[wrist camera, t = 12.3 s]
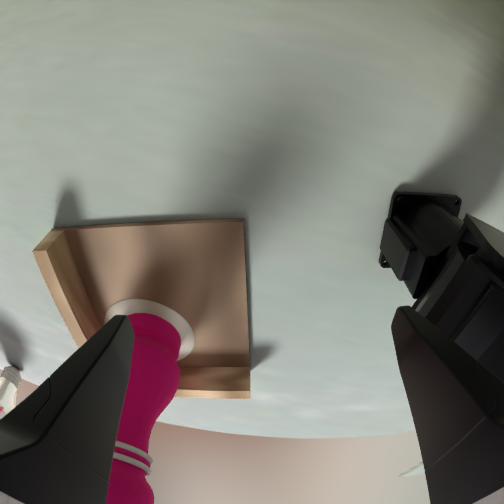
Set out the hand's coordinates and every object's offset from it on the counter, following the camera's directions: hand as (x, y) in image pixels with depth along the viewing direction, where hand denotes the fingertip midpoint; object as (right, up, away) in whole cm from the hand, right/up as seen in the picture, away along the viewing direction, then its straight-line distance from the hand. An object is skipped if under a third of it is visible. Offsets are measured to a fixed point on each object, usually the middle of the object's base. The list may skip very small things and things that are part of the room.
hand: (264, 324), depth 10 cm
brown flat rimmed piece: (-9, -3, +18) cm, 20 cm away
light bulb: (-36, -15, +26) cm, 47 cm away
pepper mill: (-10, -5, +19) cm, 22 cm away
